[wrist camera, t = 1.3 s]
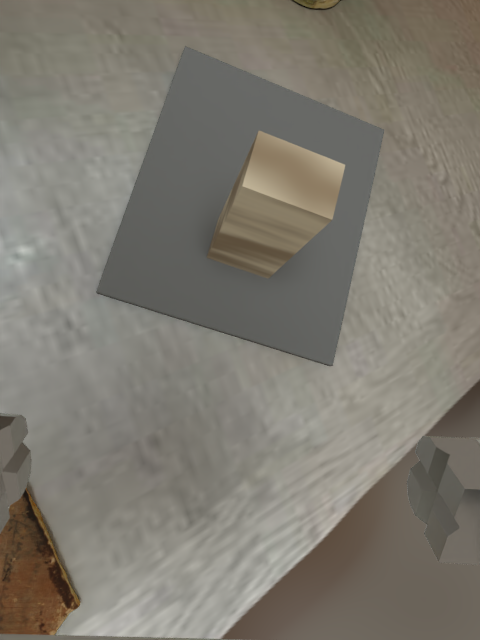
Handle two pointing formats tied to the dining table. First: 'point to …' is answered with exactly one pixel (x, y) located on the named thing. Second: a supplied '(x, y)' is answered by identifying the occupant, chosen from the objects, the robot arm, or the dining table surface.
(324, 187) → the birch block
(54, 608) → the shard
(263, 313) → the rubber mat
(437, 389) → the dining table surface
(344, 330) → the dining table surface
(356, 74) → the dining table surface
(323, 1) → the ceramic model
